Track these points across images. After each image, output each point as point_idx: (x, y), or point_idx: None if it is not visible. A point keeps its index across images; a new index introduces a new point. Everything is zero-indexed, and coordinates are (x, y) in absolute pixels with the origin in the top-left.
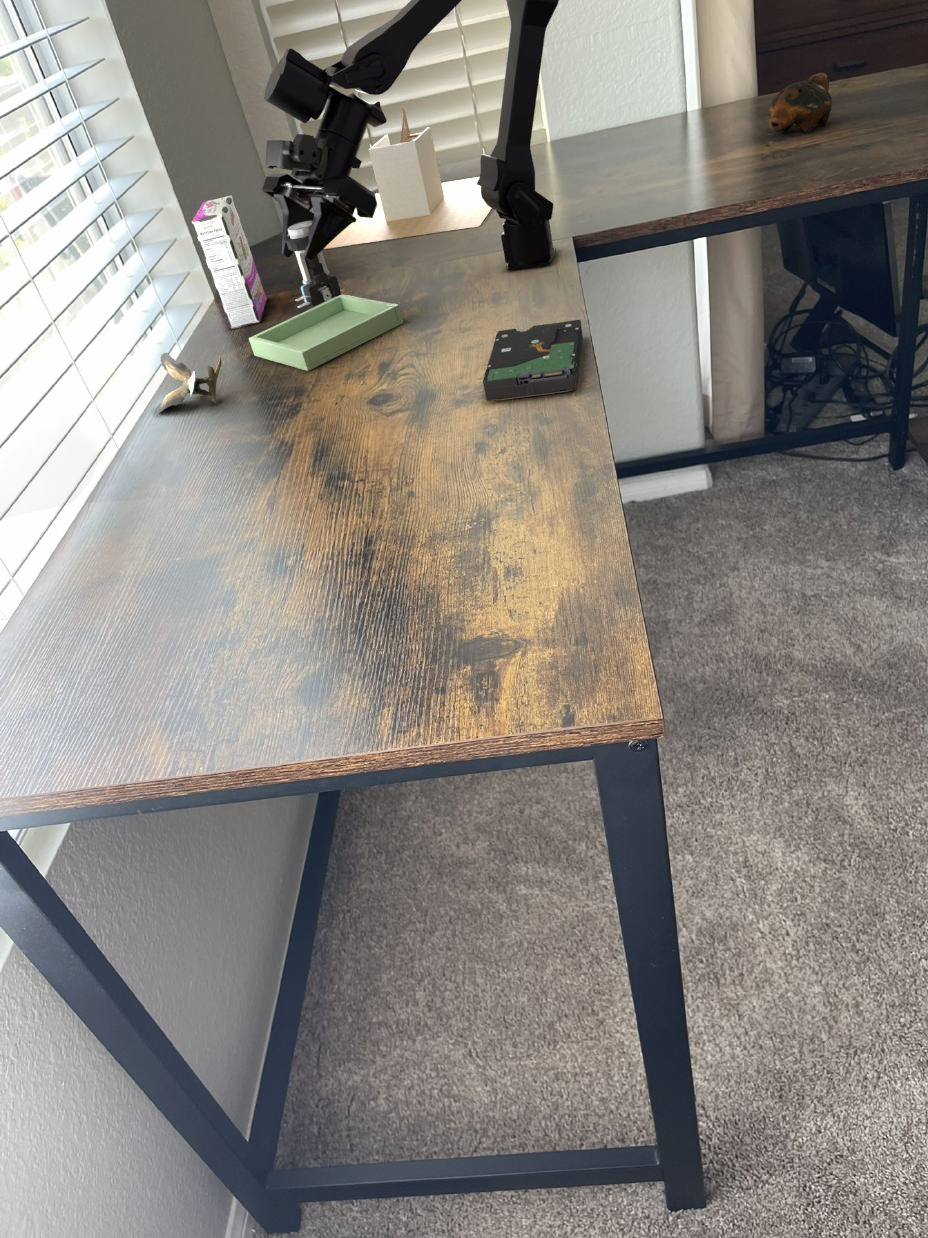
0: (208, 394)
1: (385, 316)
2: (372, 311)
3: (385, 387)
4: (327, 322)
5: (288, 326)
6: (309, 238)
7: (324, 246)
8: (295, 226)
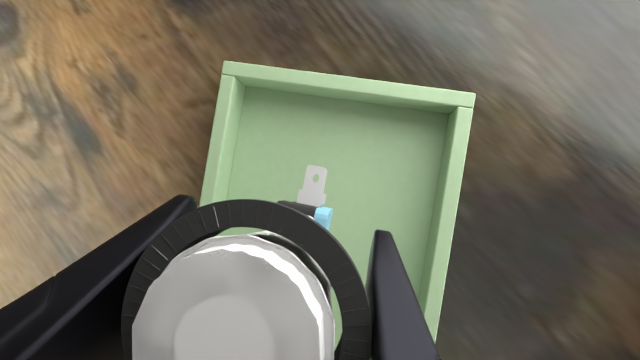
0: None
1: None
2: None
3: (22, 64)
4: None
5: (438, 208)
6: (121, 248)
7: None
8: (261, 330)
